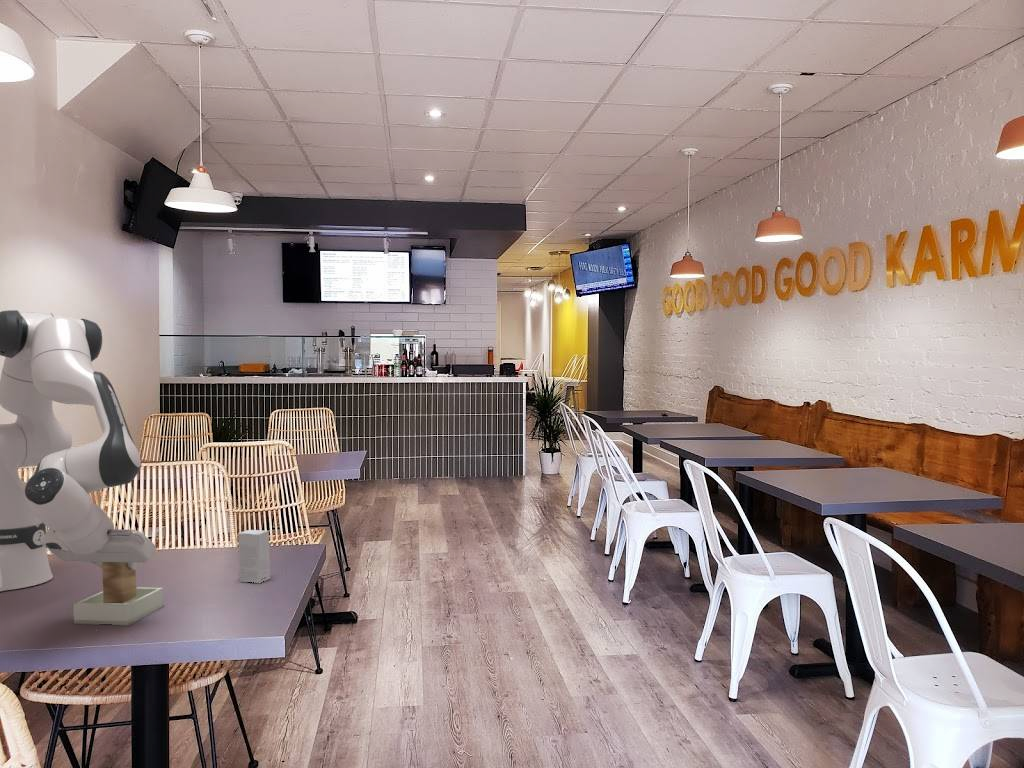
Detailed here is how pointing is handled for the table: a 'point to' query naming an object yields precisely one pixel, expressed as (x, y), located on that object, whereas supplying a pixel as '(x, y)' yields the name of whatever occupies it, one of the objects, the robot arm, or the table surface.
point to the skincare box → (254, 556)
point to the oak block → (118, 582)
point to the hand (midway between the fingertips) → (121, 566)
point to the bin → (118, 608)
